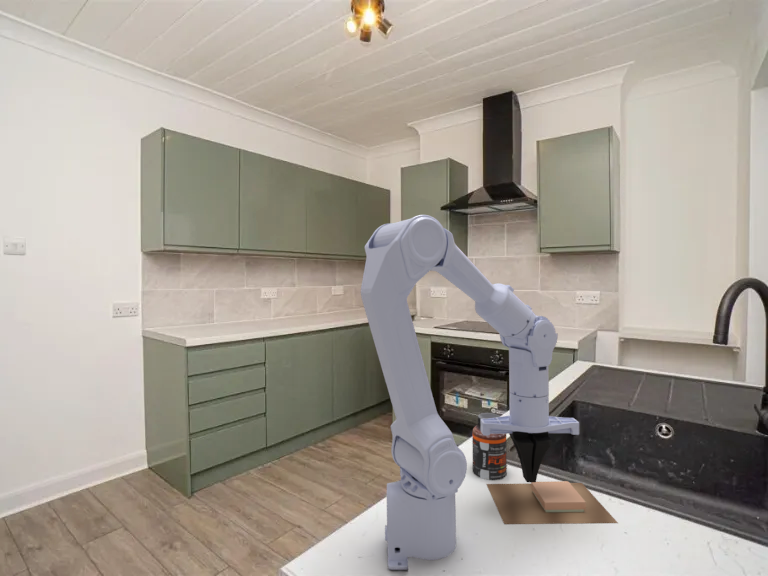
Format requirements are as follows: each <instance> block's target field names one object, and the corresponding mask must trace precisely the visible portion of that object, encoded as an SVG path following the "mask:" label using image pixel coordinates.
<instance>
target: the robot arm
mask: <svg viewBox="0 0 768 576" xmlns="http://www.w3.org/2000/svg"><path fill="white" fill-rule="evenodd" d="M455 242H456V241H455V239H454V235H453V232H451V231H450V230H448V229H447V228H445V227H444V226H443V224H442V223H441V222H440V221H439V220H438V219H437V218H435V217H433V216H431V215H428V214H419V215H414V216H413V217H411V218H408V219H404V220H400V221H397V222H393V223H392V222H391V223H390V222H389V223H384V224H382V225H380V226H379V227H377V228H376V229H375V230H374V231H373V233H372V235H371V236H370V238H369V239H368V241H367V242H366V244H365V245H364V252H365V255H366V259H365V264H364V270H363V273H362V274H363V276H362V281H361V285H360V286H361V287H360V296H361V301H362V305H363V308H364V312H365V315H366V318H367V322H368V325H369V330H370V333H371V335H372V339H373V342H374V346H375V349H376V354H377V357H378V360H379V363H380V364H379V365H380V367H381V370H382V373H383V374H382V375H383V377H384V382H385V384H386V387H387V391H388V394H389V398H390V402H391V405H392V409H393V412H394V415H395V420H394V421H393V422H392V423H391V425H390V431H391V435H392V440H391V448H390V449H391V452H390V453H391V456H392V459H393V461H394V463H395V464H396V465H397V466H398V467H399V474H400V480H397V481H392V482H387V483H386V524H385V526H384V541H385V542H387V544H386V545H387V568H388V570H397V571H398V570H403V571H404V570H409V565H408V563H409V561H408V558H415V559H416V558H417V559H421V560H427V561H434V560H436V561H437V560H441V559H444V558H447V557H448V556H450V555H451V554H452V553H453V552H454V551H455V550H456V547H457V526H456V525H457V519H456V516H457V515H456V513H457V512H456V510H457V509H456V507H457V506H456V493H458V491H459V488H460V487H461V486H462V484H463V482H464V481H465V477H466V475H467V470H468V469H467V466H468V462H467V458H466V455H465V453H464V452H463V450H461V449H460V447H459V446H457V444H456V442H455V438H454V436H453V432H452V431H451V430H450V428H449V427H448V425H447V424H446V423H445V422H444V420H443V419H442V418H441V417H440V415H439V413H438V411H437V407H436V404H435V400H434V397H433V392H432V389H431V385H430V381H429V378H428V374H427V370H426V367H425V364H424V363H425V362H424V359H423V356H422V352H421V348H420V345H419V340H418V337H417V334H416V330H415V326H414V323H413V319H412V314H411V310H410V307H409V302H408V297H409V295H410V294H411V292H412V291H413V290H414V289H413V288H414V287H415V286H416V284H417V283H418V282H419V281H420V280H422V278H424V277H425V276H426V275H427V274H428V273H429V272H430V271H431V272H437V273H438V274H439V275H441V277H444V278H445V279H446V280H447V281H448V282H450V283H451V284H452V285H453V286H455V287H456V288H458V290H460V291H461V292H462V293H464V294H465V295H466V296H468V297H469V298H470V299H471V300H473V301H474V311H475V313H476V314H477V316H479V317H480V318H481V319H483V320H484V321H485V322H486V323H487V324H488V325H489V326H490V327H491V328H492V329H494V330H495V331H496V332H497V333H498V334H499V337H500V341H501V343H502V345H503V346H504V347H507V348H508V362H509V363H508V370H509V371H508V373H509V375H508V377H509V379H508V381H509V382H508V383H509V386H508V387H509V391H508V392H509V397H508V398H509V414H508V415H504V416H503V415H502V416H500V417H496V418H488V419H480V420H481V432H482V434H483V435H490V434H506V435H507V434H508V435H509V436H510V439H511V441H512V443H513V445H514V447H515V450H516V453H517V455H518V460H519V463H520V467H521V471H522V476H523V477H522V478H524V480H525V482H526V483H531V482H537V479H538V474H539V470H540V467H541V464H542V462H543V460H544V457H545V456H546V454H547V453H548V451H549V449H550V448H551V446H552V438H551V437H550V436H549V434H571V435H575V436H579V435H580V421H578V420H577V419H575V418H574V417H562V416H561V417H560V416H552V415H550V413H549V412H550V409H549V408H550V401H549V400H550V397H549V395H550V394H549V391H550V388H549V387H550V385H549V384H550V383H549V382H550V379H549V378H550V377H549V376H550V374H549V372H550V371H549V366H550V365H551V364H552V361H553V352H554V349H555V347H556V345H557V343H558V342H557V341H558V336H559V334H558V333H557V332H556V328H555V326H554V324H553V323H552V322H551V320H550V319H548V317H546V316H543V315H537V314H535V312H534V310H533V308H532V307H531V306H530V305H529V304H526V303H524V301H522V300H521V299H520V298H519V297H518V296H517V295H516V294H515V293H514V292H515V289H514V287H513V286H511V285H510V284H503V283H500V282H499V283H498V282H497V283H492V282H491V281H490V280H489V279H488V278H487V276H485V274H483V272H482V271H481V270H480V269H479V268H478V267H477V266H476V265H475V264H474V263H473V262H472V260H471V259H470V258H469V257H468V256H467V255H466V254H465V253H464V252H463V251H462V250H461V249H460V248H459V247H458V246H457V244H456V243H455Z"/></svg>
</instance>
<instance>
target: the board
mask: <svg viewBox="0 0 768 576" xmlns="http://www.w3.org/2000/svg"><path fill="white" fill-rule="evenodd" d="M569 483H570V484H571V485H572V486H573V488H574V489H575V490H576V491H577V492H578V493H579V495H580V496H581V497H582V498H583V499H584V500H585V502H586V509H584V512H545V510H544V509H543V507H542V506H541V504H540V502H539V501H538V499H537V498H536V496H535V495H534V493H533V491H532V489H531V482H526V483H486V487H487V488H488V491H489V493H490V496H491V498H492V501H493V502H494V504H495V507H496V509H497V512H498V513H499V515H500V517H501V521H502V522H503V524H504V525H553V524H554V525H559V524H561V525H563V524H565V525H568V524H571V525H573V524H576V525H577V524H581V525H583V524H619V522H618V521H617V520H616V519H615V517H613V515H612V514H610V512H609V511H608V510H607V509H606V508H605V507H604V506H603V505H602V503H601V502H600V501H599V500H598V499H597V498H596V496H594V494H593V493H592V492H591V491H590V490H589V489H588V488H587V487H586V486H585V484H583V482H569Z"/></svg>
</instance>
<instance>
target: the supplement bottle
mask: <svg viewBox="0 0 768 576" xmlns="http://www.w3.org/2000/svg"><path fill="white" fill-rule="evenodd" d="M496 417H501V416H500V415H499V414H496V413H492V412H481V413H479V414H478V415H477V424H476V425H475V426H474V427H473V429H472V436H471V437H472V438H471V439H472V440H471V441H472V473H473V475H475V476H476V477H478V478H479V479H483V480H486V481H487V480H489V481H499V480H503V479H505V478H506V476H507V474H508V473H507V471H508V470H507V469H508V465H507V464H508V463H507V461H508V459H507V458H508V457H507V455H508V454H507V452H508V451H507V449H508V448H507V434H490V435H483V434H482V432H481V420H480V419H488V418H496Z"/></svg>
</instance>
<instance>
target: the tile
mask: <svg viewBox="0 0 768 576" xmlns="http://www.w3.org/2000/svg"><path fill="white" fill-rule="evenodd" d="M530 483H531V489H532V491H533V493H534V495H535V496H536V498H537V499H538V501H539V502H540V504H541V506H542V507H543V509H544V510H545V512H584V509H586V502H585V500H584V499H583V498H582V497H581V496H580V495H579V493H578V492H577V491H576V490H575V489H574V488H573V486H572V485H571V484H570V483H571V482H569V481H568V480H567V481H566V480H565V481H564V480H562V481H558V480H557V481H536V482H530Z"/></svg>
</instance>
